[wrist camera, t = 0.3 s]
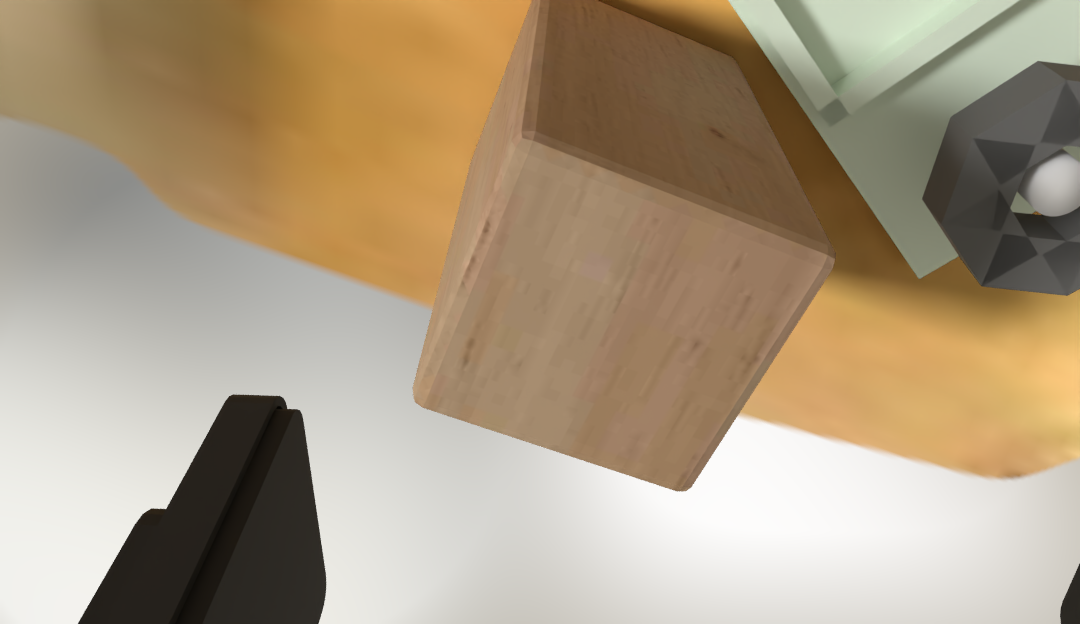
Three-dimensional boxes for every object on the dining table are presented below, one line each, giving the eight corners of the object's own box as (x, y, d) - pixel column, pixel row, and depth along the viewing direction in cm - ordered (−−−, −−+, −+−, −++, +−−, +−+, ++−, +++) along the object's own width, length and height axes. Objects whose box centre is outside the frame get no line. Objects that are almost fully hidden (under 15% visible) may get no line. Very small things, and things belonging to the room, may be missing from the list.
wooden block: (739, 57, 43) (847, 259, 26) (649, 234, 48) (688, 501, 31) (541, -26, 41) (517, 131, 24) (468, 166, 46) (405, 408, 29)
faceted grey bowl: (892, 154, 39) (910, 177, 37) (1103, 18, 36) (1136, 35, 34) (986, 298, 42) (1008, 327, 40) (1186, 186, 39) (1221, 211, 37)
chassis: (664, -94, 40) (683, -62, 33) (944, -325, 35) (1033, -343, 28) (906, 260, 48) (961, 344, 41) (1157, 111, 44) (1265, 178, 37)
